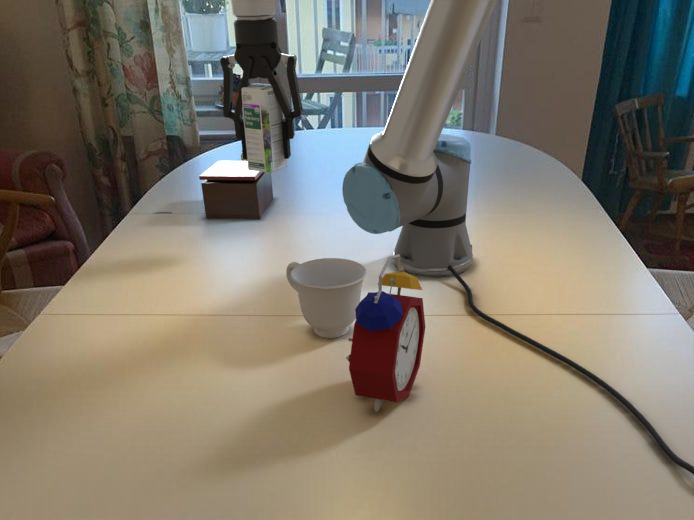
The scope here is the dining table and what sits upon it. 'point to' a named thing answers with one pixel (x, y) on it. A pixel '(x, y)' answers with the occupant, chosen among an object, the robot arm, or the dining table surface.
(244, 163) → the lid
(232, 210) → the chest
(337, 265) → the teacup
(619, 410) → the dining table surface
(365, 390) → the alarm clock
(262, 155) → the syrup box
